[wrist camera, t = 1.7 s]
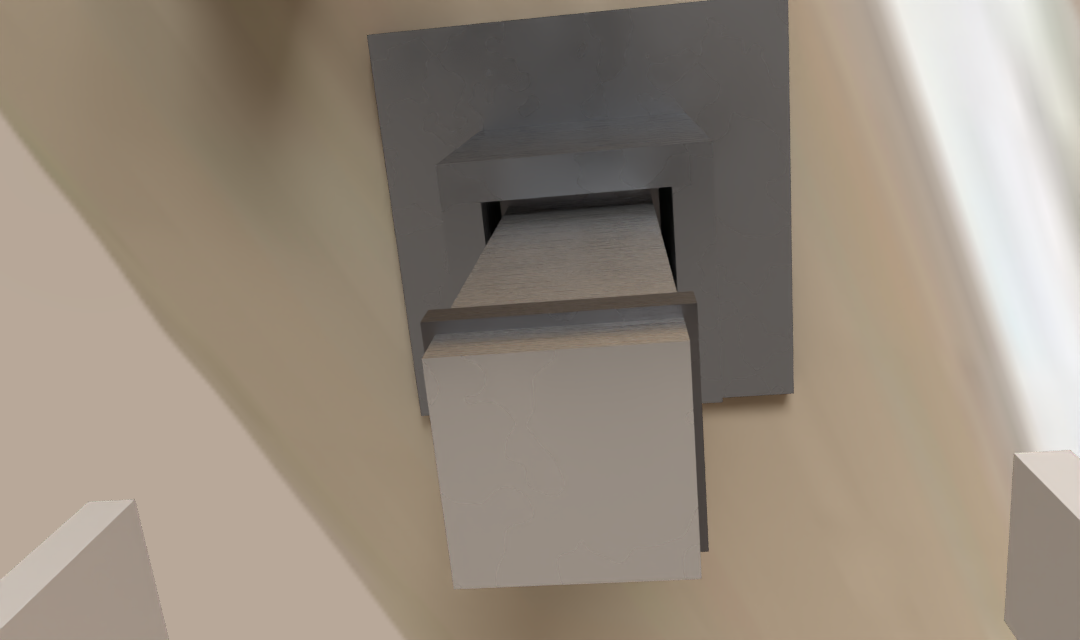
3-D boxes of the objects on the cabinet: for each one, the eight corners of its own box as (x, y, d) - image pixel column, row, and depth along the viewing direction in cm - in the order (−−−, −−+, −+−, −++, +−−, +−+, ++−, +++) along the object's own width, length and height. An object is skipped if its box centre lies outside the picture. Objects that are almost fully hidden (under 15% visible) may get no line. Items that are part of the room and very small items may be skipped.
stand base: (373, 34, 36) (268, 35, 25) (782, -7, 35) (866, -26, 24) (425, 406, 41) (357, 547, 30) (789, 384, 40) (861, 523, 28)
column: (521, 165, 36) (405, 346, 15) (647, 154, 36) (705, 325, 15) (533, 287, 38) (441, 601, 17) (655, 278, 37) (716, 590, 16)
